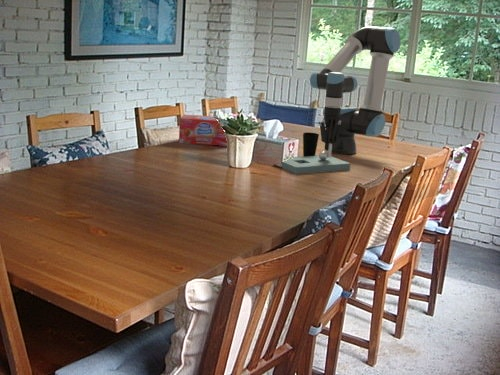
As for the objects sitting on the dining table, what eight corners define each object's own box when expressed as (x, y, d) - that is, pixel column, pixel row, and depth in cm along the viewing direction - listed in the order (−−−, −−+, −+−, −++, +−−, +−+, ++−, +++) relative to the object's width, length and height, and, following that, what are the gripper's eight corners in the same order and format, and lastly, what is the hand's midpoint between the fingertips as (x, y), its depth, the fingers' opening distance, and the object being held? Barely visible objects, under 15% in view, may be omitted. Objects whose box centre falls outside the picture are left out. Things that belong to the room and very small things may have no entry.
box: (177, 143, 331) (178, 117, 327) (183, 138, 343) (184, 113, 340) (229, 147, 328) (231, 121, 324) (233, 143, 341) (235, 117, 337)
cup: (316, 157, 318) (318, 133, 315) (316, 160, 311) (318, 136, 308) (301, 155, 319) (303, 132, 316) (300, 159, 311) (302, 134, 308)
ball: (325, 152, 300) (319, 149, 298) (330, 154, 297) (324, 151, 294) (321, 160, 300) (315, 157, 298) (326, 162, 297) (320, 159, 295)
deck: (326, 161, 311) (327, 154, 310) (349, 169, 296) (350, 163, 295) (274, 164, 296) (274, 158, 295) (295, 174, 281) (296, 167, 280)
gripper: (339, 105, 299) (334, 154, 305) (316, 105, 293) (311, 156, 299) (349, 107, 293) (343, 158, 299) (326, 108, 286) (321, 159, 292)
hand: (327, 157), depth 299 cm, fingers closed
